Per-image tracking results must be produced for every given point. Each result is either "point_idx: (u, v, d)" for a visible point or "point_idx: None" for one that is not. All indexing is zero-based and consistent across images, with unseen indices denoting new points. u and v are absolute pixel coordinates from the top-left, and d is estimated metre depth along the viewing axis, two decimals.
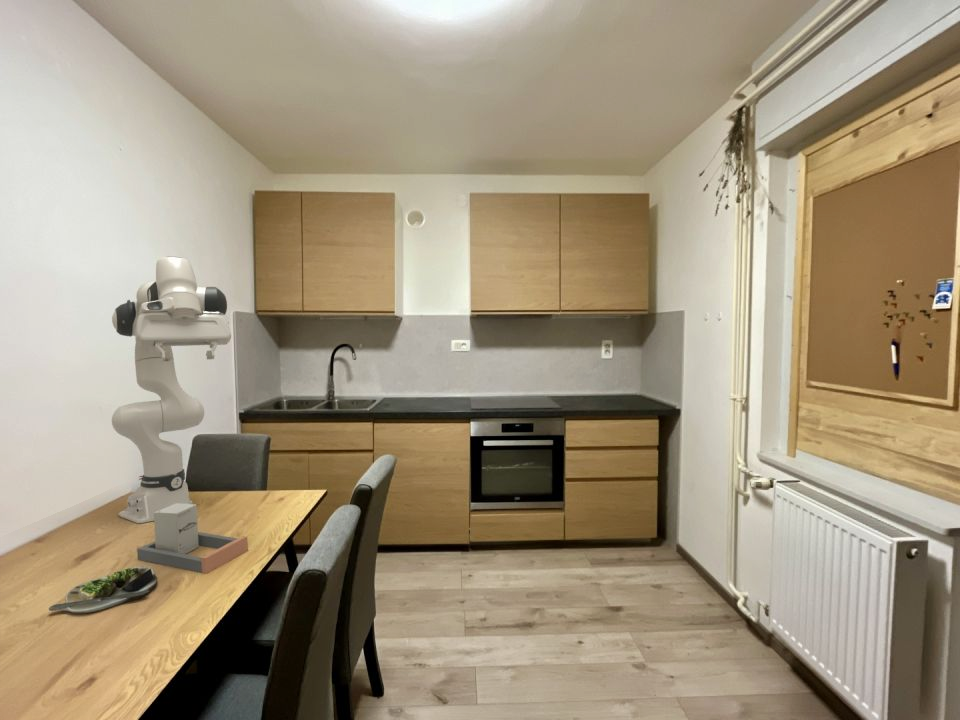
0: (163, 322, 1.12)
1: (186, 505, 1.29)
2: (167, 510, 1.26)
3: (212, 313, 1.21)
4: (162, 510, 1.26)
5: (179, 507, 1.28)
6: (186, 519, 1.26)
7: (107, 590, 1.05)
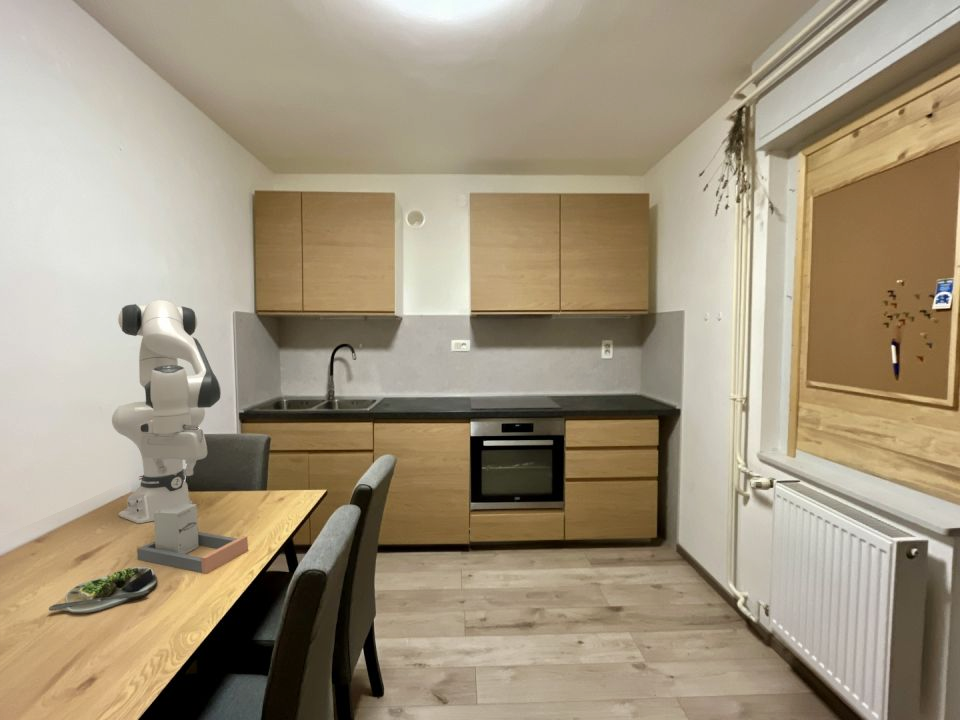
0: (155, 440, 1.26)
1: (186, 505, 1.29)
2: (167, 510, 1.26)
3: (190, 428, 1.23)
4: (162, 510, 1.26)
5: (179, 507, 1.28)
6: (186, 519, 1.26)
7: (107, 590, 1.05)
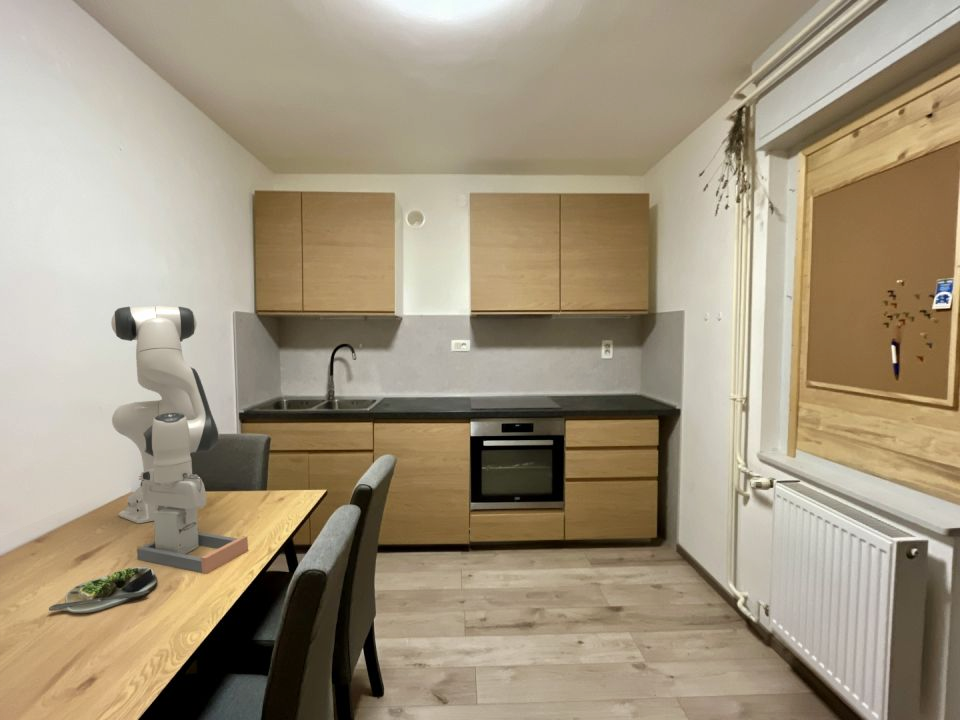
0: (157, 488, 1.27)
1: None
2: (167, 510, 1.26)
3: (190, 477, 1.24)
4: (162, 510, 1.26)
5: None
6: None
7: (107, 590, 1.05)
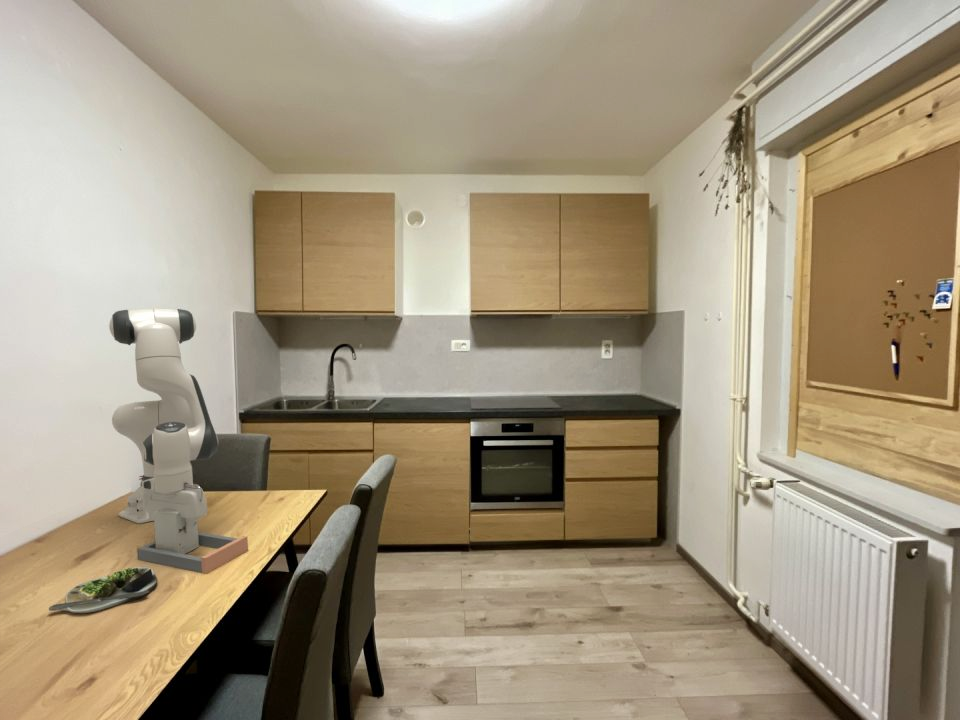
0: (158, 496, 1.27)
1: None
2: None
3: (190, 486, 1.24)
4: (162, 510, 1.26)
5: None
6: None
7: (107, 590, 1.05)
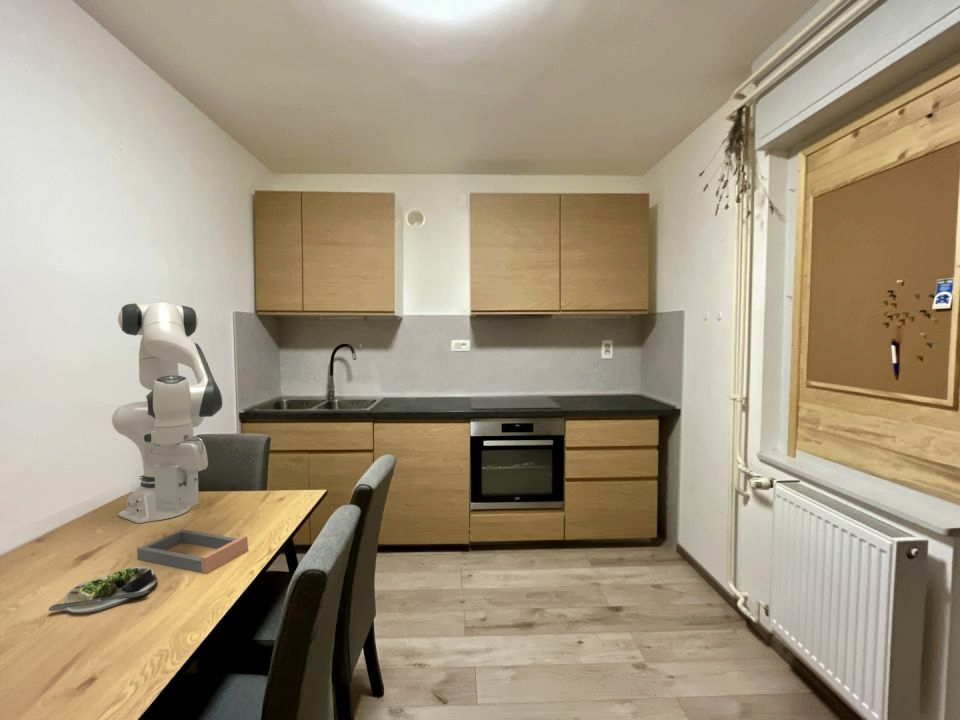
0: (158, 450, 1.26)
1: None
2: (167, 464, 1.25)
3: (191, 439, 1.23)
4: (163, 464, 1.25)
5: None
6: None
7: (107, 590, 1.05)
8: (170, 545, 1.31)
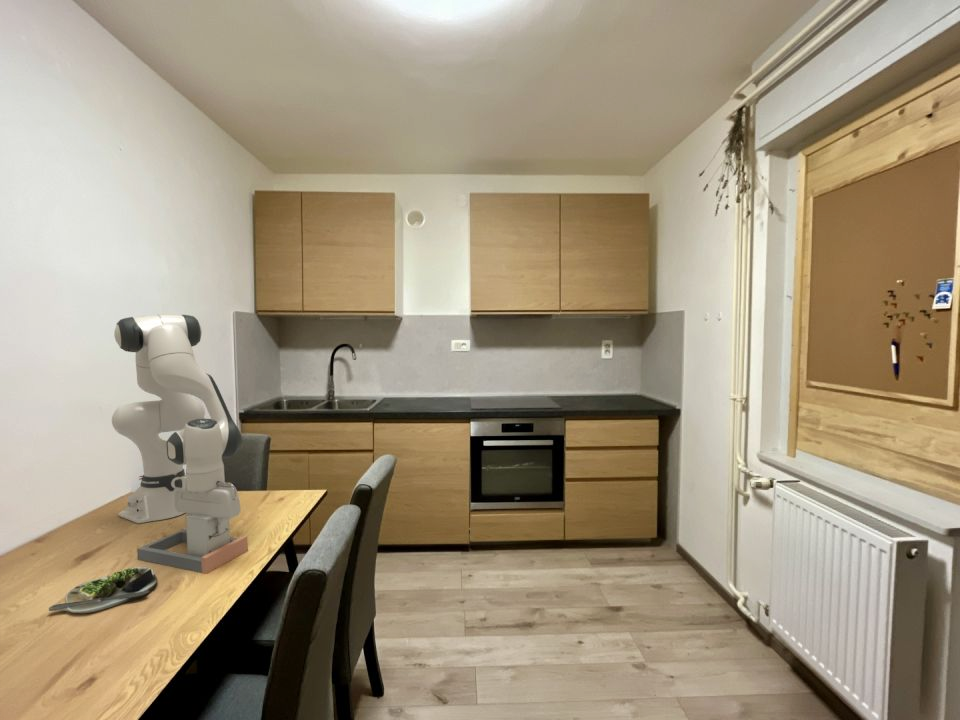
0: (189, 495, 1.23)
1: None
2: None
3: (223, 485, 1.20)
4: (194, 514, 1.22)
5: None
6: (217, 525, 1.22)
7: (107, 590, 1.05)
8: (170, 545, 1.31)
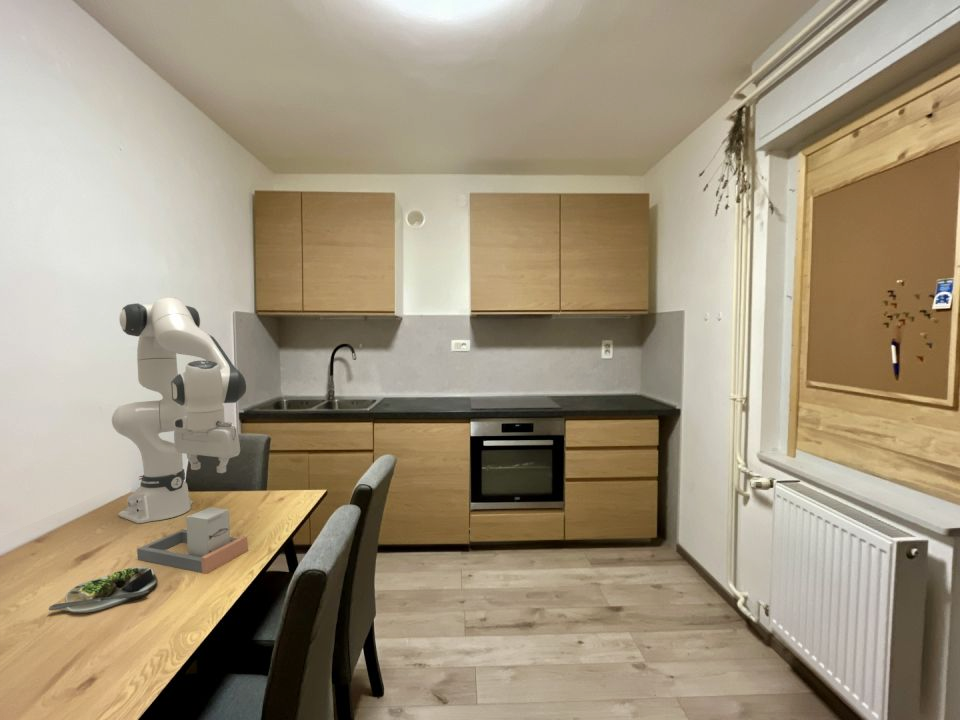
0: (189, 436, 1.24)
1: (218, 510, 1.25)
2: (199, 514, 1.22)
3: (223, 425, 1.22)
4: (194, 514, 1.22)
5: (211, 512, 1.24)
6: (217, 525, 1.22)
7: (107, 590, 1.05)
8: (170, 545, 1.31)
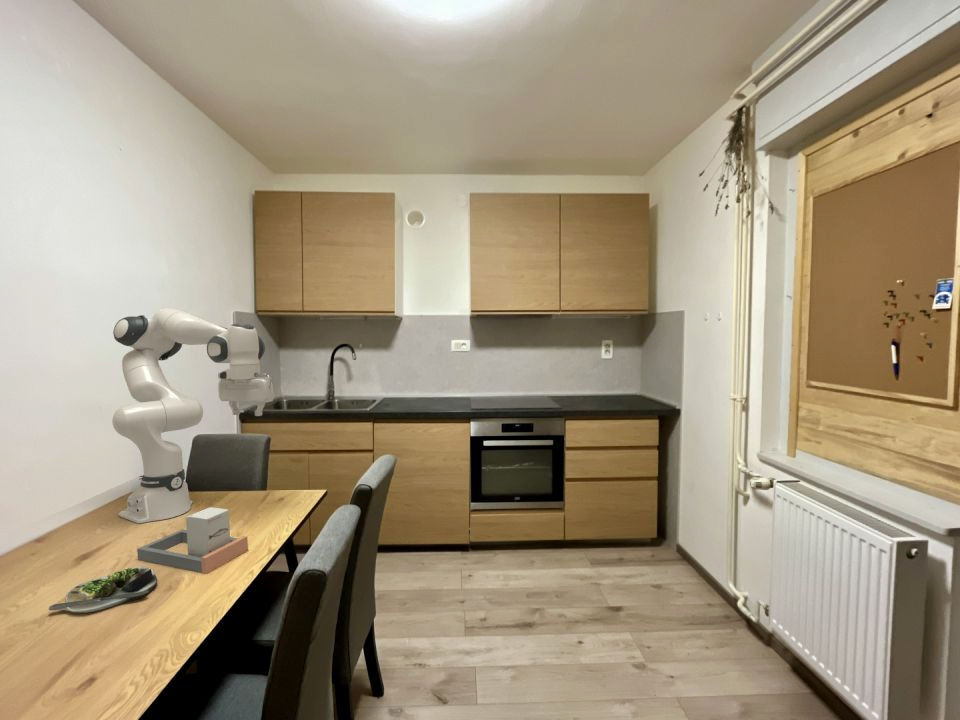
0: (231, 386, 1.50)
1: (218, 510, 1.25)
2: (199, 514, 1.22)
3: (260, 375, 1.47)
4: (194, 514, 1.22)
5: (211, 512, 1.24)
6: (217, 525, 1.22)
7: (107, 590, 1.05)
8: (170, 545, 1.31)
